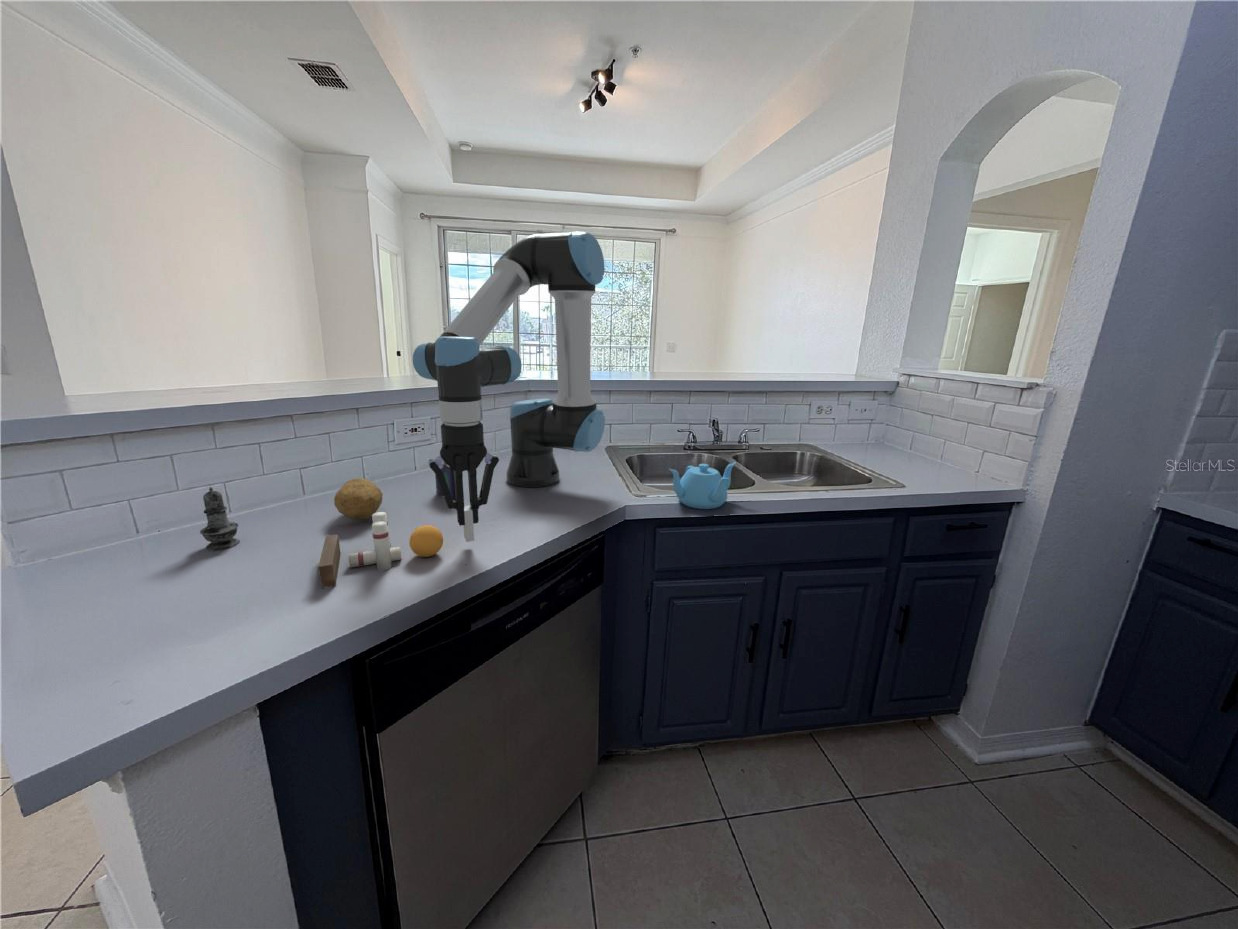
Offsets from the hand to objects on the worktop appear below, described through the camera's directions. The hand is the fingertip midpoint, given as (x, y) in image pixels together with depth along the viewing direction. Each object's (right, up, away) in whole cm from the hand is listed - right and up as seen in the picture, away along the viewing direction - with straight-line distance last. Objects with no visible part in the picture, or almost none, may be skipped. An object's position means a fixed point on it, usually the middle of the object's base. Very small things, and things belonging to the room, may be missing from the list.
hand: (469, 538), depth 96 cm
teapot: (+52, +4, +29) cm, 59 cm away
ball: (-7, 0, -4) cm, 8 cm away
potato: (-29, +3, +14) cm, 32 cm away
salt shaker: (-48, -1, -1) cm, 48 cm away
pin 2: (-13, -4, -8) cm, 16 cm away
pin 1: (-15, -3, -4) cm, 16 cm away
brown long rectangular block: (-22, -4, -10) cm, 24 cm away
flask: (-14, +6, +29) cm, 33 cm away
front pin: (-11, -2, -5) cm, 13 cm away
